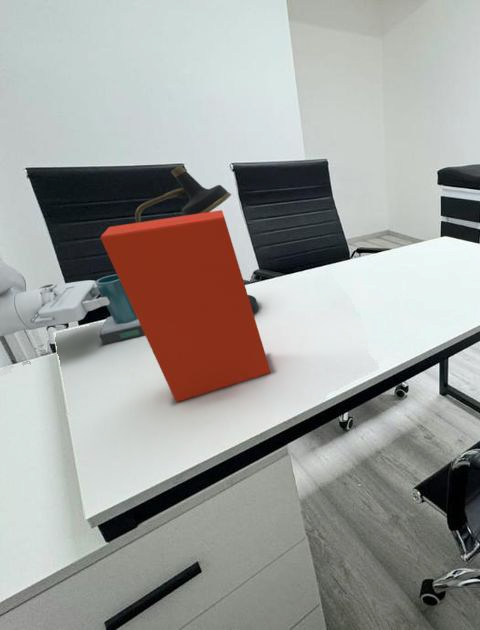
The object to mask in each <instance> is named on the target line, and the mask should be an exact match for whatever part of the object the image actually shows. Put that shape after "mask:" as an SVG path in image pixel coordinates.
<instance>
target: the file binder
mask: <svg viewBox="0 0 480 630" xmlns="http://www.w3.org/2000/svg"><path fill="white" fill-rule="evenodd" d="M100 240H101V242H102V244H103V247H104V248H105V251H106V253H107V255H108V257H109V259H110V262H111V264H112V266H113V268H114V271H115V273H116V274H117V275H118V277H119V279H120V281H121V284H122V286H123V288H124V290H125V292H126V294H127V297H128V299H129V301H130V303H131V305H132V307H133V310H134V312H135V314H136V316H137V318H138V320H139V323H140V325H141V327H142V329H143V331H144V334H145V335H144V336H145V338H146V340H147V343H148V344H149V346H150V349H151V351H152V353H153V355H154V357H155V360H156V362H157V364H158V366H159V368H160V370H161V372H162V375H163V377H164V379H165V381H166V384H167V385H168V388H169V390H170V392H171V394H172V397H173V399H174V401H175V402H176V403H179V402H182V401H184V400H185V401H186V400H188V399H192V398H195V397H198V396H202V395H204V394H208V393H211V392H213V391H214V392H215V391H217V390H220V389H224V388H226V387H230V386H233V385H236V384H239V383H243V382H246V381H249V380H252V379H256V378H259V377H261V376H265V375H268V374H271V373H272V371H271V368H270V365H269V361H268V358H267V355H266V352H265V349H264V345H263V341H262V338H261V335H260V332H259V328H258V325H257V322H256V318H255V314H254V315H253V311H252V308H251V304H250V301H249V298H248V295H249V294H248V292H247V288H246V285H245V281H244V278H243V275H242V271H241V268H240V265H239V262H238V257H237V255H236V251H235V248H234V245H233V244H234V243H233V242H232V237H231V235H230V231H229V229H228V225H227V222H226V217H225V215H224V212H223V210H222V209H221V210H220V209H219V210H214V211H213V210H212V211H210V212H206V213H199V214H193V215H186V216H185V215H181V216H179V215H178V216H174V217H166V218H159V219H153V220H147V221H141V222H139V223H136V222H132V223H127V224H120V225H113V226H109V227H108V228H107V229H106V230H105V231H104V232H103V233H102V234H101V236H100Z"/></svg>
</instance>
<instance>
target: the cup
mask: <svg viewBox="0 0 480 630" xmlns="http://www.w3.org/2000/svg"><path fill="white" fill-rule="evenodd" d="M95 281H96V282H95V284H96V286H97V288H98V290H99V292H100V294H99V295H100V297H104V296H108V297H109V299H110V304H109V305H105V307H106V308H107V310H108V312H109V314H110V317H112V319H113V320H114V322H115V323H116V324H124V323H129V322H132V321H135V320H137V319H138V318H137V316H136V314H135V312H134V310H133V307H132V305H131V303H130V301H129V299H128V297H127V294H126V292H125V290H124V288H123V286H122V284H121V281H120V279H119V277H118V275H117V273H116V274H111V275H106V276H103V277H101V278H98V279H96V280H95Z"/></svg>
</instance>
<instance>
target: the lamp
mask: <svg viewBox="0 0 480 630" xmlns="http://www.w3.org/2000/svg"><path fill="white" fill-rule="evenodd" d="M170 172H171V174H172V175H173V176H174V177H175V179H176V181H177V182H178V183H179V185H180V186H181V187H179V188H175V189H173V190H171V191H169V192H166V193H164V194H162V195H160V196H158V197H154V198H152V199H150V200H147V201H145V202H144V203H142V204H140V205H139V206H138V207H136V210H135V213H134V219H135V223H139V222H142V220H141V215H142V212H143V211H144V210H145V209H146V208H148V207H150V206H153V205H155V204H158V203H160V202H163V201H165V200H169V199H171V198H174V197H177V196H180V195H182V194H183V193H186V194H187V196H188V197H189V202H188V203H187V204H185V206H184V207H182V208H181V212H182V214H183V216H186V215H193V214H199V213H206V212H213V210H215V209H216V208H217V207H219V206H220V205H221V204H223V203H224V202H225V201H227V200H228V199H229V198H230V197H231V195H232V193H230V192H229V191H228V190H227V189H226V188H225V187H223V186H222V185H221V184H217V185H215V186H213V187H211V188H205V187H203V186H202V185H201V184H200V182H199V181H198V180H196V179H195V178H194V177H193V176H192V175H191V174H190V173H189V172H188V171H187V170H186V169H185V168H184V167H183V166H182V165H178V166H176V167H175V168H173V169H172V170H171V171H170ZM248 298H249V301H250V304H251V308H252V311H253V315H254V316H255V314H257V313H258V311H259V309H260V307H259V304H258V301H257V298H256V297H255V296H253V295H251V294H248Z"/></svg>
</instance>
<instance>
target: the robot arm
mask: <svg viewBox="0 0 480 630" xmlns="http://www.w3.org/2000/svg"><path fill="white" fill-rule="evenodd" d="M96 281H97V280H93V279H91V280H89V279H88V280H79V281H71V282H66V283H62V284H57V283H55V282H54V283H49V284H46V285H43V286H41V287H39V288H34V289H30V290H27V283H26V280H25V277H24V276H23V274H22V273H20V272H19V271H18V270H16V269H15V268H14V267H12V266H10V265H8V264H7V263H5V262H4V261H2V260H0V337H4V336H10V335H13V334H15V333H17V332H20V331H26V330H27V331H30V330H31V331H32V330H37V329H41V328H42V329H43V328H47V327H53V326H60V325H66V324H70V323H71V324H72V323H75V322H79V321H81V320H84V318H85V317H86V315H87V314H88V312H91V311H94V310H97V309H99V308H102V307H106V305H109V304H110V299H109V297H108V296H104V297H102V296H100V297H98V296H99V295H101V294H100V292H99V290H98V288H97V286H96V284H95V282H96Z"/></svg>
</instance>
